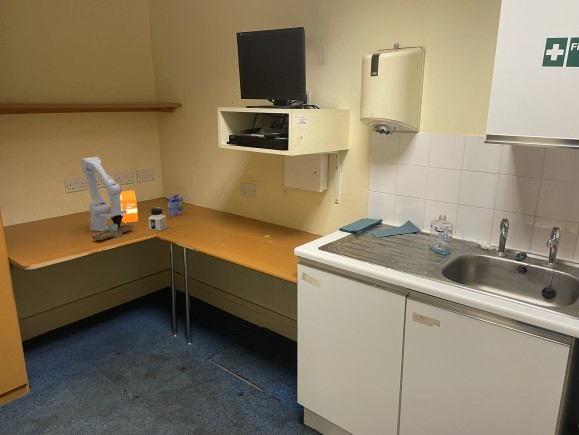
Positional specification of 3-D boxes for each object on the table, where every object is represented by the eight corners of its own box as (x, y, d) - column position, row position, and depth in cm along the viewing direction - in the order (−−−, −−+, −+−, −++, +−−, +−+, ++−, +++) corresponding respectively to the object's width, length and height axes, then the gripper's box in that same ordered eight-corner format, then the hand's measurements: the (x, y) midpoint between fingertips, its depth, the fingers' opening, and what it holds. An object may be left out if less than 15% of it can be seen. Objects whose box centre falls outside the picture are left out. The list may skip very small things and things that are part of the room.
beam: (91, 241, 251) (90, 235, 250) (124, 229, 274) (124, 223, 273) (101, 243, 248) (101, 236, 247) (135, 231, 271) (134, 225, 270)
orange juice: (138, 221, 293) (135, 191, 288) (124, 223, 289) (121, 192, 283) (134, 218, 300) (132, 189, 295) (121, 220, 295) (118, 190, 290)
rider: (109, 231, 259) (108, 225, 258) (114, 230, 263) (113, 223, 262) (112, 232, 258) (112, 225, 257) (118, 230, 262) (117, 224, 261)
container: (160, 230, 272) (159, 210, 269) (149, 229, 274) (147, 209, 270) (166, 227, 280) (165, 207, 276) (155, 226, 281) (153, 206, 278)
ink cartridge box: (173, 217, 304) (171, 196, 300) (167, 215, 307) (166, 195, 303) (184, 214, 312) (182, 193, 308) (178, 213, 315) (177, 192, 311)
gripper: (111, 208, 252) (113, 231, 255) (129, 203, 265) (131, 225, 268) (102, 207, 255) (104, 230, 258) (120, 202, 268) (122, 224, 271)
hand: (117, 227), depth 263 cm, fingers closed
